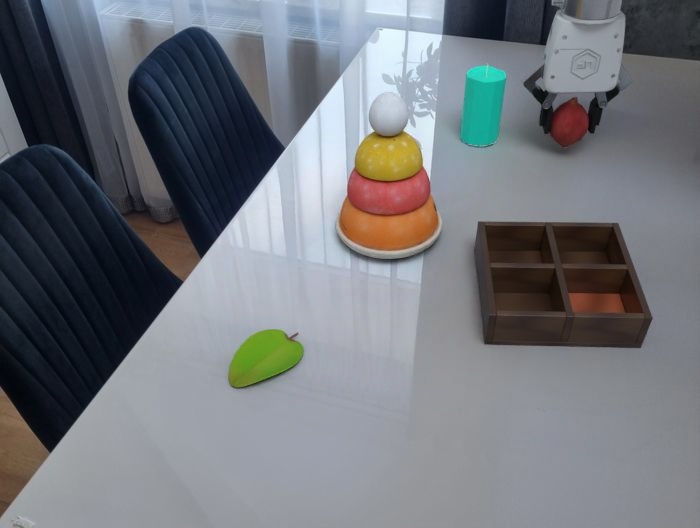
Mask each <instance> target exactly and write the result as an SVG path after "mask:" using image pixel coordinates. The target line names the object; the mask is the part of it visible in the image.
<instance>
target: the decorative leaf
mask: <svg viewBox="0 0 700 528" xmlns="http://www.w3.org/2000/svg"><path fill="white" fill-rule="evenodd" d="M297 335H299V332H295V333H294V334H292V335H291V336H290V337H289V336H288V334H287V333H286V332H285V331H284V330H282V329H278V328H277V329H276V328H269V329H264V330H259V331H257V332H255V333H253V334H252V335H250V336H249V337H248V338H246V339H245V340H244V341H243V342H242V344H241V345H240V346H239V347H238V348H237V350H236V352H235V353H234V355H233V357H232V359H231V362H230V365H229V369H228V382H229V384H230V386H232V387H233V386H234V387H233V388H243V387H246V386H249V385H253V384H255V383H258V382H260V381H264V380H266V379H268V378H271V377H273V376H277V375H278V374H280V373H283V372H284V371H286V370H289V369H290V368H292V367H294V366H295V365H296V364H297V363H298V362H300V361H301V359H302V357H303V355H304V346H303V344H302V343H301V342H300V341H298V340H295V339H293V338H294V337H296V336H297Z"/></svg>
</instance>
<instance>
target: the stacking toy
mask: <svg viewBox="0 0 700 528" xmlns="http://www.w3.org/2000/svg"><path fill="white" fill-rule="evenodd" d="M409 115H410V114H409V109H408V106H407V104H406V101H405V100H404V99H403V97H401V96H400V95H399V94H397V93H396V92H394V91H384V92H382V93H380V94H378V95H377V96H376V97H375V98H374V100H373V101H372V103H371V104H370V107H369V110H368V122H369V126H370V128H371V129H372V132H370V133H369V134H368V135H367V136H365V138H363V140H361V142H360V143H359V145H358V148H357V149H356V152H355V156H354V167H353V169H352V170H351V173H350V175H349V178H348V181H347V187H346V196H345V198H344V200H343V203H342V205H341V209H340V211H339V212H338V214H337V216H336V219H335V229H336V232H337V234H338V236H339V238H340V239H341V241H342V243H344V244H345V245H346V246H347V247H348V248H350V249H351V250H353V251H354V252H356V253H358V254H360V255H363V256H365V257H369V258H375V259H383V260H394V259H402V258H407V257H412V256H414V255H417V254H420V253H423V251H426V250H427V249H429V248H430V247H431V246H432V245H433V244H434V243H435V242H436V241H437V240H438V238H439V237H440V235H441V233H442V230H443V217H442V216H441V213H440V211H439V210H438V209H437V205H436V202H435V199H434V198H433V196H432V194H431V192H432V191H431V188H432V187H431V182H430V177H429V174H428V172H427V170H426V168H425V166H424V158H423V157H424V156H423V153H422V150H421V148H420V146H419V144H418V142H417V141H416V139H415V138H414V137H413V136H412V135H410V134H409V133H408V132H406V131H405V128H406V127H407V125H408V122H409V118H410V117H409Z"/></svg>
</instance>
